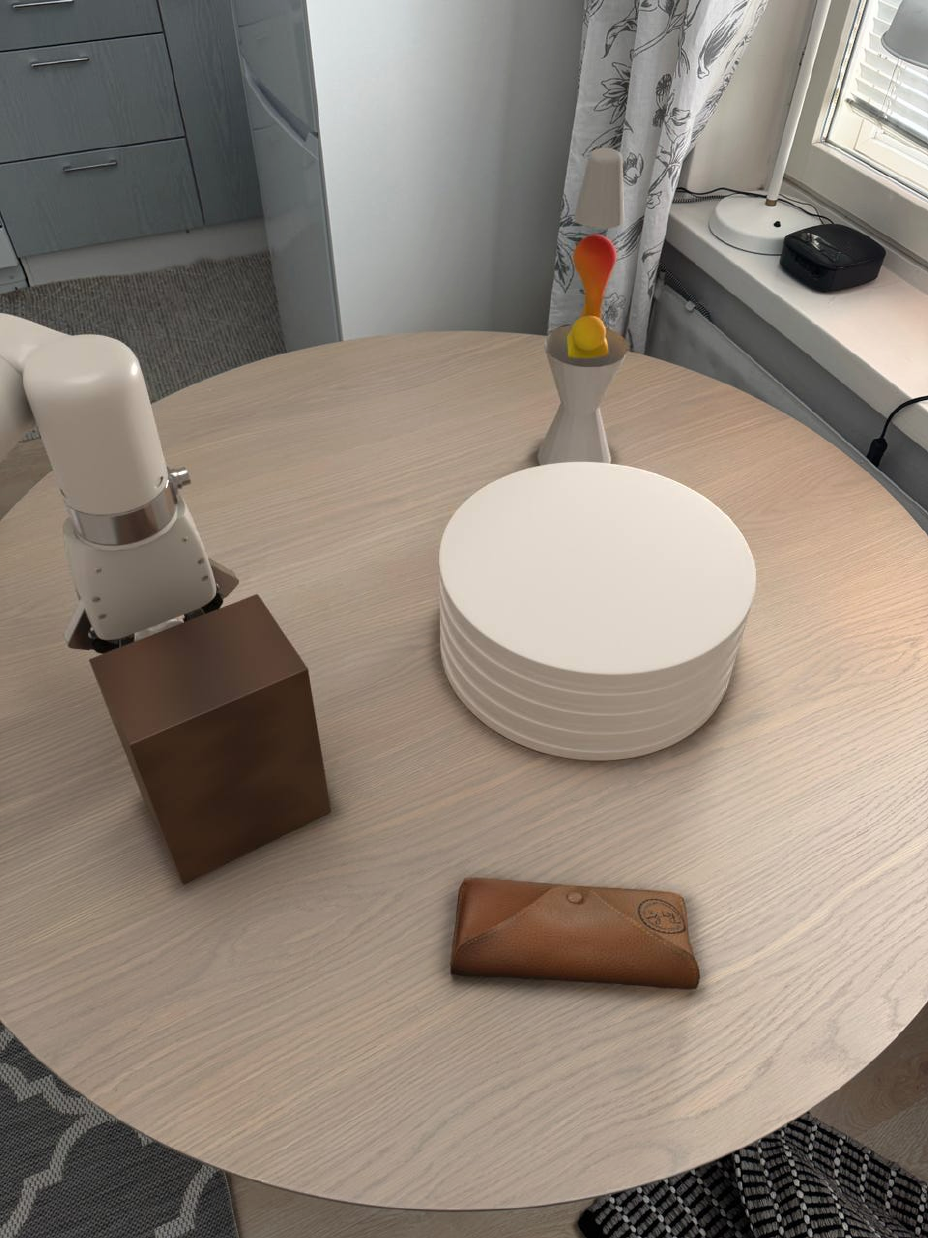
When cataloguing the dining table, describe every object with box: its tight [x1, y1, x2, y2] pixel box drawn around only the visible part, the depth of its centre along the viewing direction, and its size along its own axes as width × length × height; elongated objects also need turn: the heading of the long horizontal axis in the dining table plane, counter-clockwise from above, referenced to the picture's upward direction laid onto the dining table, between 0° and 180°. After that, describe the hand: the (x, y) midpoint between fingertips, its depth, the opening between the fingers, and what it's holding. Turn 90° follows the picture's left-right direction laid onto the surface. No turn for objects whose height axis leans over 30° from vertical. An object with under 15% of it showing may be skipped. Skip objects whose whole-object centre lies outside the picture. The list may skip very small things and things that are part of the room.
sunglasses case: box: [449, 877, 701, 990], centre depth 74 cm, size 18×7×7 cm
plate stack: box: [438, 462, 757, 762], centre depth 93 cm, size 28×28×12 cm
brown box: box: [88, 593, 332, 885], centre depth 77 cm, size 13×10×18 cm
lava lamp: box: [537, 147, 629, 466], centre depth 105 cm, size 9×9×35 cm
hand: (171, 666), depth 86 cm, fingers closed on milkshake, 4 cm apart
